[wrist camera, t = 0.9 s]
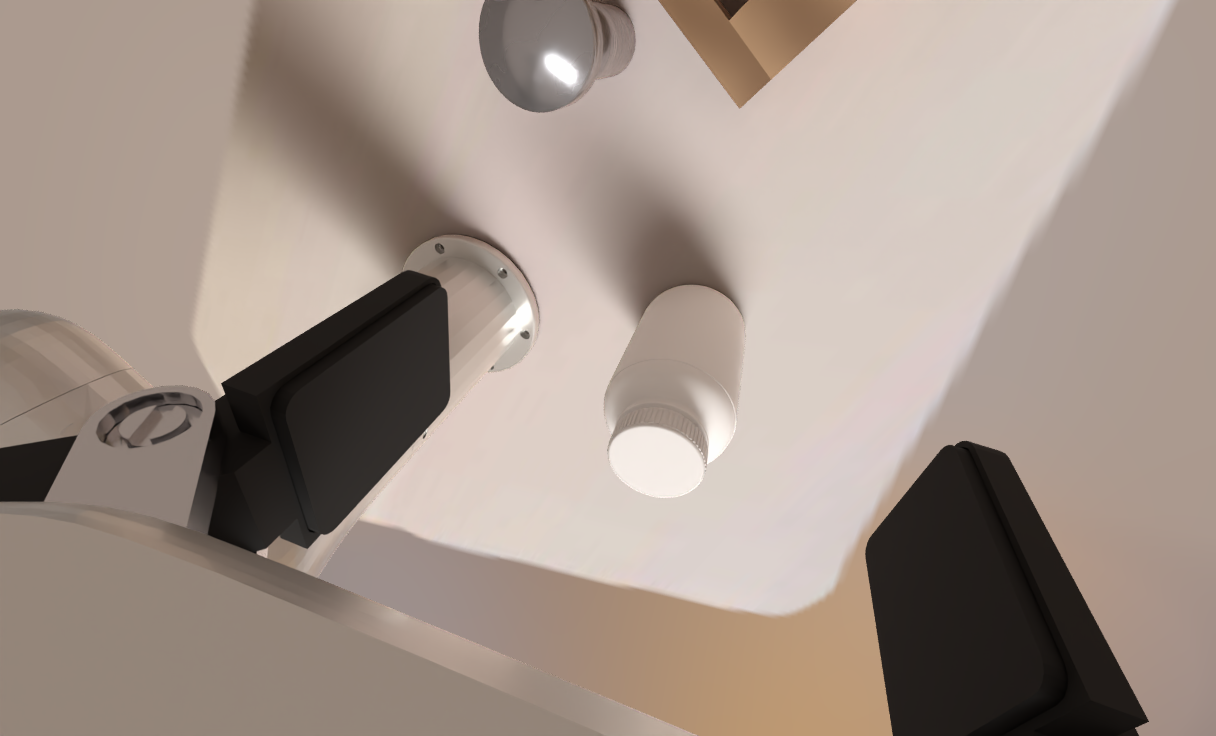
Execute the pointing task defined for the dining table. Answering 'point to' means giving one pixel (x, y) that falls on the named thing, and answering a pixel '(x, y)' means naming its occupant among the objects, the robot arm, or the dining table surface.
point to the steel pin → (552, 48)
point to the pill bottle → (676, 391)
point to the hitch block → (752, 36)
